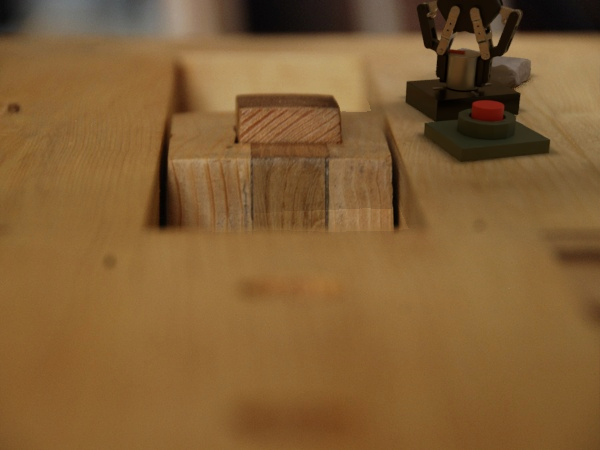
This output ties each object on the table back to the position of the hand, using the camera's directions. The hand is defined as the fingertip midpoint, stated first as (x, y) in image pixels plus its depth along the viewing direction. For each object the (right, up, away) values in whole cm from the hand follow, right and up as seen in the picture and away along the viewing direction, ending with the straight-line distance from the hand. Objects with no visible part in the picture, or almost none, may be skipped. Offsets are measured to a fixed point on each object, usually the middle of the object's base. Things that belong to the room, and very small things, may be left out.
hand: (462, 83), depth 110 cm
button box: (0, -10, -14) cm, 17 cm away
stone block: (+8, +4, +17) cm, 19 cm away
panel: (0, -3, +1) cm, 4 cm away
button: (0, -7, -15) cm, 17 cm away
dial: (0, 0, 0) cm, 0 cm away
